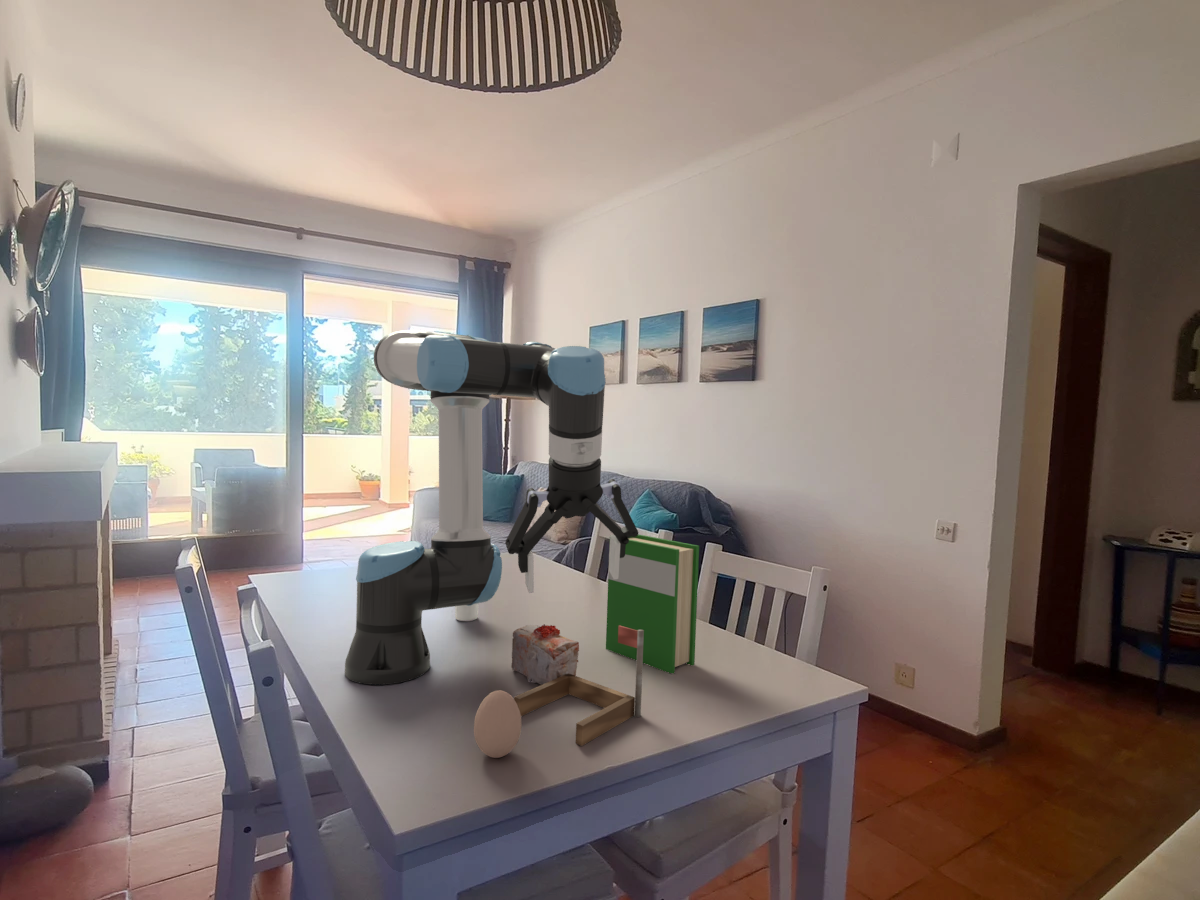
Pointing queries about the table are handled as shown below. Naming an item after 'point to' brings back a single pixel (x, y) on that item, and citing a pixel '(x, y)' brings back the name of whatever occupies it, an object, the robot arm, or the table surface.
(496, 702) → the egg
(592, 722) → the mini golf hole
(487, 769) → the table surface
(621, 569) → the hardback book
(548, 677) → the food item
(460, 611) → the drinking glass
